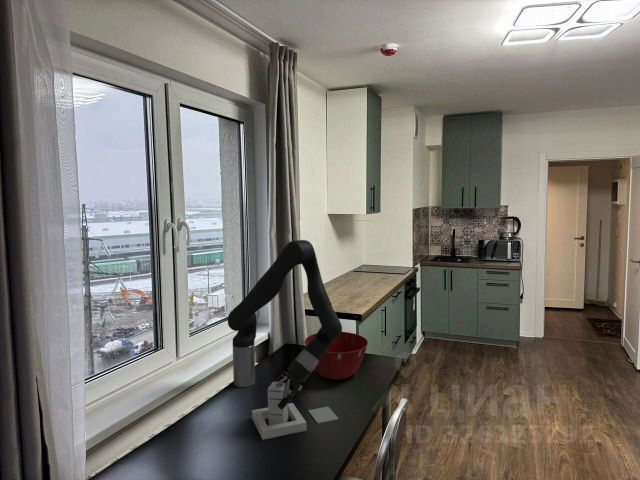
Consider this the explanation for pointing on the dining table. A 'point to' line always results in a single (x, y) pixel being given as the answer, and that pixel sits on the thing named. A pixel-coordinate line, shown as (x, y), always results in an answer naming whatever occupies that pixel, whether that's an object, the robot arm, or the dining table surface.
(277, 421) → the syrup box
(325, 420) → the rubber mat
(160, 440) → the dining table surface
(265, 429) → the hollow square frame
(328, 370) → the mixing bowl
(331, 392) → the dining table surface
